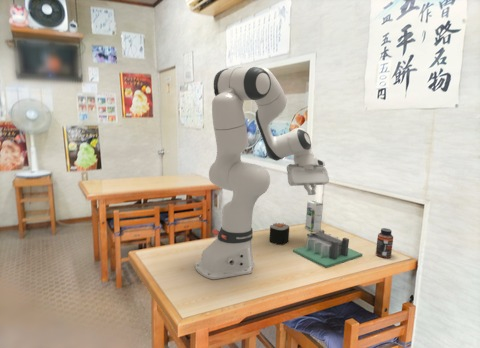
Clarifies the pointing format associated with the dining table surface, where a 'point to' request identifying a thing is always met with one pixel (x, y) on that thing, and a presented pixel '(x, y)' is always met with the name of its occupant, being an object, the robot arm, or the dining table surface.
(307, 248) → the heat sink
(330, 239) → the steel strap
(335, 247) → the posts
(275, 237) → the sushi
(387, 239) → the supplement bottle
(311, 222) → the syrup box
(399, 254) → the dining table surface
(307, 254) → the circuit board
